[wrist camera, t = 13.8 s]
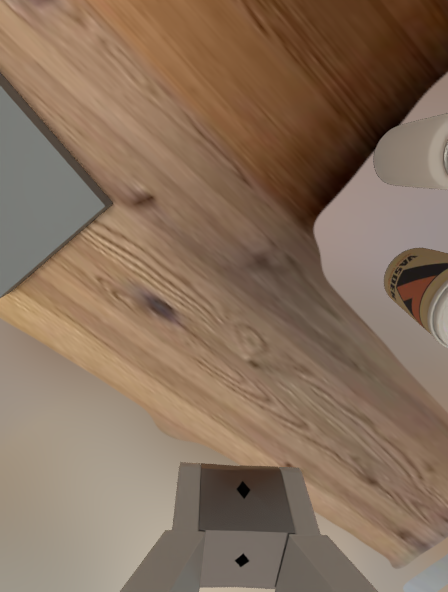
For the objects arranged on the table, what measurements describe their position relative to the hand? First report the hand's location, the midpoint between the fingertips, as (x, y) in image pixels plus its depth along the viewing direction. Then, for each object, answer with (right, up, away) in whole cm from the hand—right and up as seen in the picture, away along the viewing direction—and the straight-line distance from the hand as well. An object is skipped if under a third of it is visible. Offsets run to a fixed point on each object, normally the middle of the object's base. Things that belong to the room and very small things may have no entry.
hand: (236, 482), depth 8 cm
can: (+20, +21, +29) cm, 41 cm away
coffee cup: (+24, +7, +35) cm, 43 cm away
